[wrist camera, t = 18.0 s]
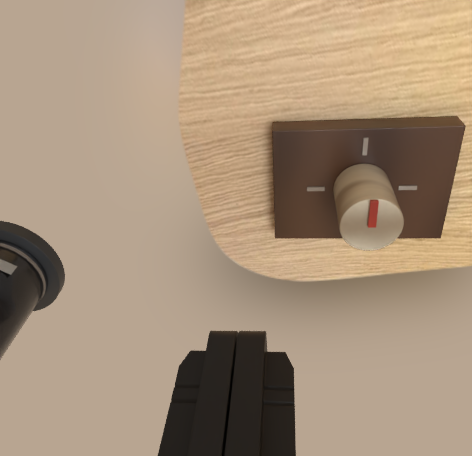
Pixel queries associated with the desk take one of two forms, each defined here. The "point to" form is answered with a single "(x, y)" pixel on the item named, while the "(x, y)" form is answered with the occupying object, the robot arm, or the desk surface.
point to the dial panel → (364, 152)
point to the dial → (367, 207)
